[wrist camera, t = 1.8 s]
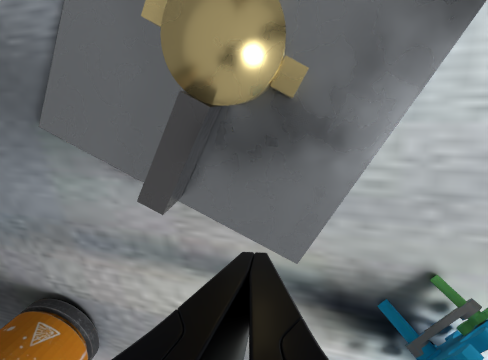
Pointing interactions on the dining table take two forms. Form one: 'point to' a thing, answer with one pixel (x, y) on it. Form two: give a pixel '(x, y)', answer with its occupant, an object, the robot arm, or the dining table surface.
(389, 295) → the dining table surface
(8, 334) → the canister
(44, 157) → the dining table surface
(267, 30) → the gold lugged knob
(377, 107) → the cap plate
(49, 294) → the dining table surface
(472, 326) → the blue branched piece
